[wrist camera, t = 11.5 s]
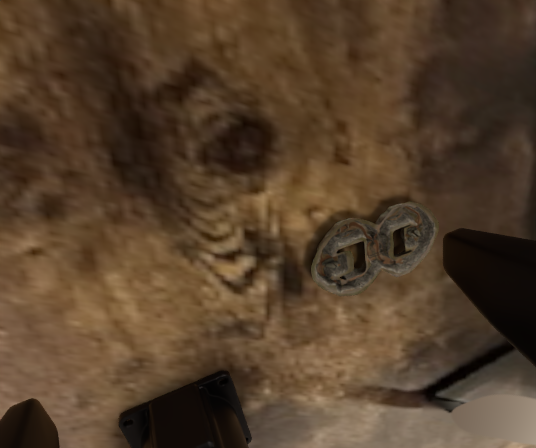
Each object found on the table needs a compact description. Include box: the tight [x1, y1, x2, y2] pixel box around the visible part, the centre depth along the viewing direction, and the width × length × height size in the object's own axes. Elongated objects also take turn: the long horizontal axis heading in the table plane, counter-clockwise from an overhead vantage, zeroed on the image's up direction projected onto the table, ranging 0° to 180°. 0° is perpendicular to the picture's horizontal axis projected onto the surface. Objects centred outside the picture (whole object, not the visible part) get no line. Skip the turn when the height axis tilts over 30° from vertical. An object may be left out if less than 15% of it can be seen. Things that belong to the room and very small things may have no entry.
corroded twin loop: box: [311, 201, 439, 296], centre depth 24 cm, size 5×8×1 cm, turn 100°
